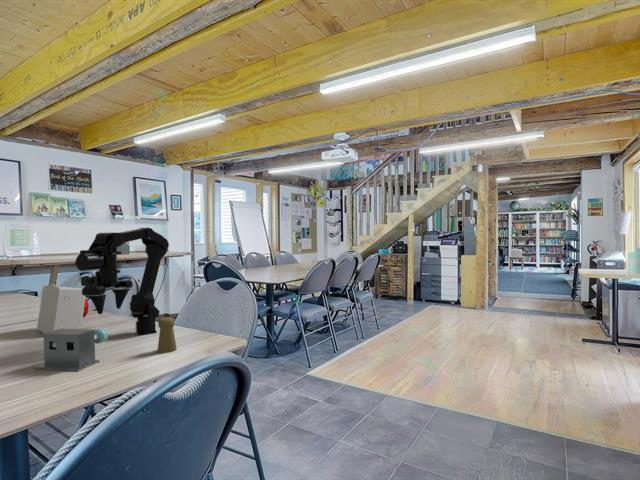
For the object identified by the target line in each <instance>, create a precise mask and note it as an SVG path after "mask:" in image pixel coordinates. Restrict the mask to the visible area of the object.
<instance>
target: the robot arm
mask: <svg viewBox="0 0 640 480" xmlns="http://www.w3.org/2000/svg"><path fill="white" fill-rule="evenodd" d="M137 240H141V243H142V244H143V245H144V246H145V252H146V257H147V260H146V263H145V268H144V270H143V275H142V279H141V283H140V286H139V291H138V292H137V293H136V294H132V296H131V297H130V298H131V300H130V302H129V304H128V305H129V311H130V312H131V314H132V317H133V318H136V321H135V332H136V334H137V335H138V336H141V335H150V334H154V333H157V330H156V319H157V318H158V317H159V316H160V310H159V309H158V308H157V307H156V306H155V304H156V303H155V301H156V300H155V298H154V297H155V296H154V294H153V292H154V289H155V284H156V280H157V276H158V272H159V267H160V264H161V263H160V262H161V260H162V259H163V257H165V255H166V254H167V252H168V250H169V247H170V244H169V241H168V239H167V238H166V237H164V235H162V234H160V233H158V232H156V231H154V229H153V228H151V227H140V228H136V229H132V230H131V229H130V230H127V231H121V232H99V233H96V235H95V237H94V240H93V241H92V243H91V245H90V246H89V248H88V249H87V250H85V249H82V250H81V249H80V250H79V254H78V255H76V256H77V257H76V258H75V261H74V263H75V267H76V268H77V269H78V270H79V271H82V272H84V271H91V270H97V271H95V274H94V276H89V275H84V276H82V277H81V278H80V285H81V286H82V287H83V288H81V289H82V295H85V298H88V299H90V300H91V302H92V303H93V306H94V308H95V310H96V312H97V314H98V315H102V314H103V311H104V307H105V302H106V296H107V294H106V291H110V290H111V292H112V293H113V294H114V297H115V298H114V299H115V305H116V306H115V307H116V309H118V310H119V309H121V307H122V306H123V304H124V303H123V302H124V300H125V299H126V297H127V295H128V293H129V291H131V288H133V287H134V286H133V285H134V284H133V281H132V280H131V279H118V273H119V274H120V273H121V269H118V256H117V255H122V254H123V253H122V251H121V250H120V249H118V248H120V247H121V246H123V245H124V244H125V243H129V242H133V241H137Z"/></svg>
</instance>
